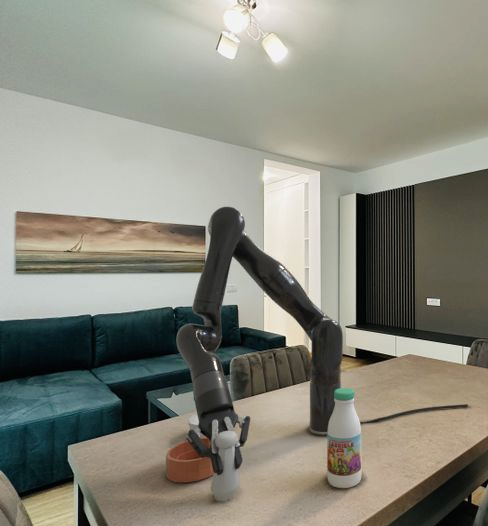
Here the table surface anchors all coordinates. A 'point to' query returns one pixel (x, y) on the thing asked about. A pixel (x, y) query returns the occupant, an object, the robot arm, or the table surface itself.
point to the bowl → (187, 463)
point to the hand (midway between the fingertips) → (229, 470)
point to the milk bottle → (344, 442)
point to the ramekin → (194, 424)
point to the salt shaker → (226, 468)
